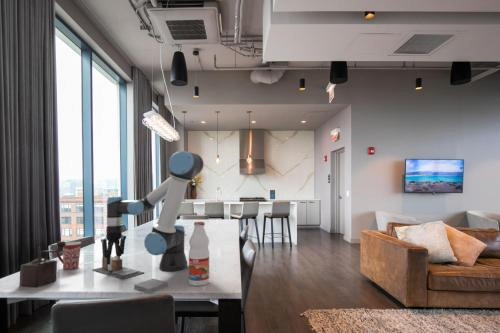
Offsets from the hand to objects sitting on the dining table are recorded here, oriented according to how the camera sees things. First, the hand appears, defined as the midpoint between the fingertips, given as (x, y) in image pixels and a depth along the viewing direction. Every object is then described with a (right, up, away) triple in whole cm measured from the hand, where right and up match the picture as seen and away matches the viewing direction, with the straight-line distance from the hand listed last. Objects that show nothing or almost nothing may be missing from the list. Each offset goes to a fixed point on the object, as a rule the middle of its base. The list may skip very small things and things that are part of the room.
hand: (113, 269), depth 156 cm
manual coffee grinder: (-25, 0, -17) cm, 30 cm away
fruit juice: (+50, +1, -20) cm, 53 cm away
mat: (+4, -1, -2) cm, 4 cm away
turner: (+3, 0, -2) cm, 4 cm away
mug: (-27, -1, +5) cm, 28 cm away
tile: (+25, +1, -23) cm, 34 cm away
